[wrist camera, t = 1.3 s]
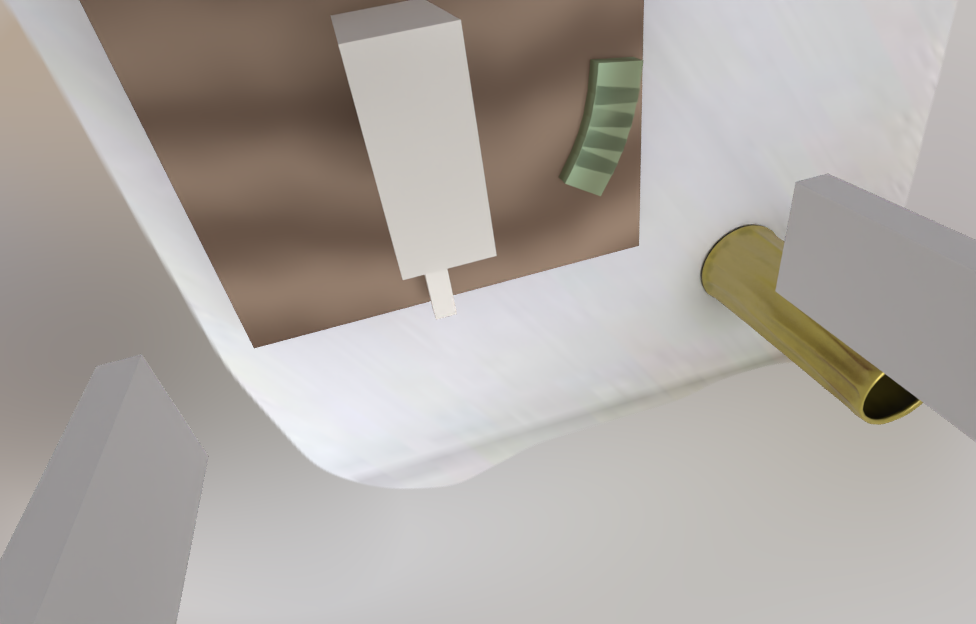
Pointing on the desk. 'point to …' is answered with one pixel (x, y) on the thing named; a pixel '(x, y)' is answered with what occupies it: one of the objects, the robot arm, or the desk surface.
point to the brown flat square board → (343, 154)
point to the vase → (797, 326)
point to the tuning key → (420, 137)
